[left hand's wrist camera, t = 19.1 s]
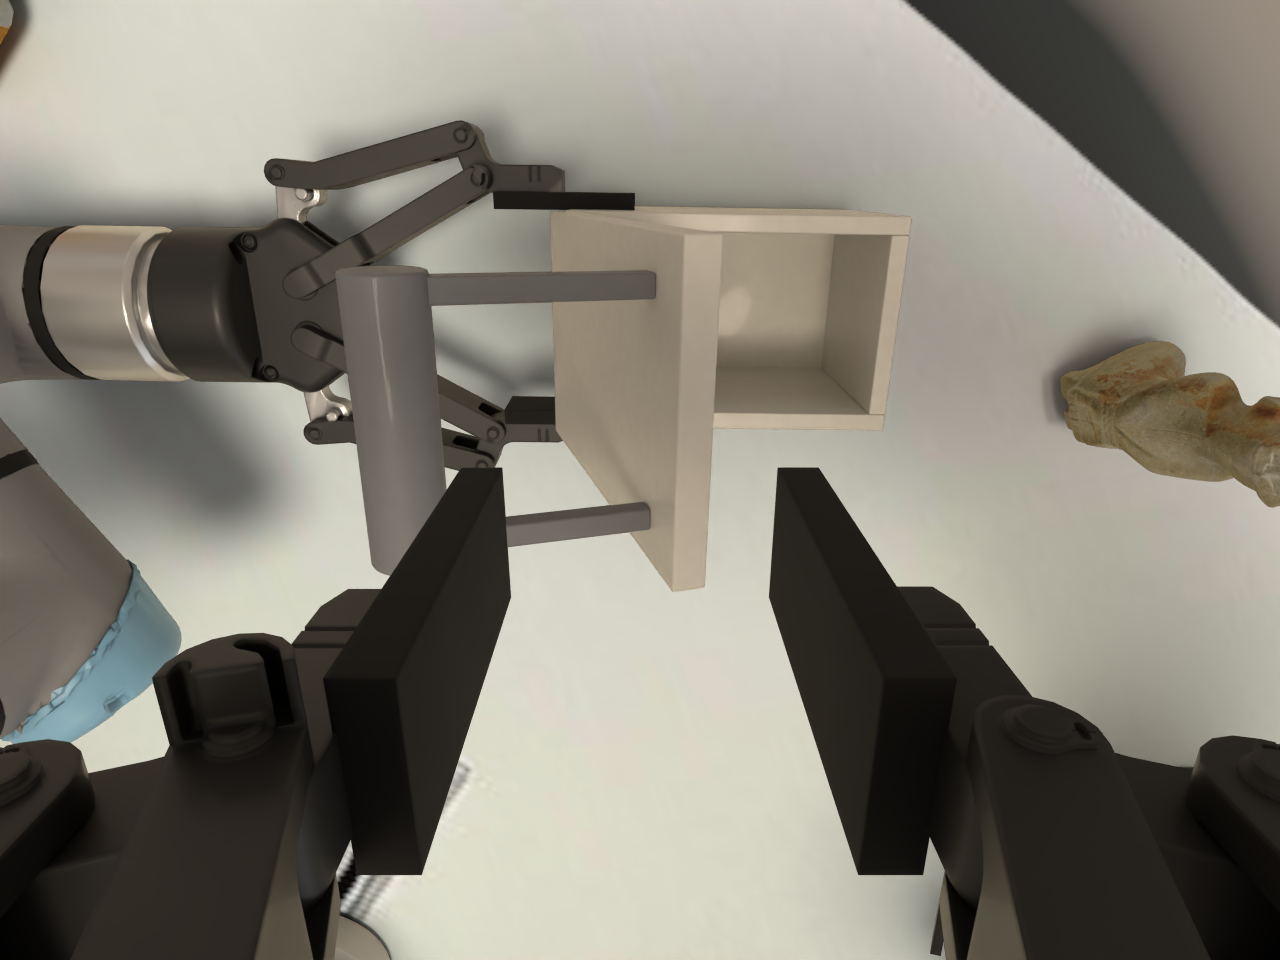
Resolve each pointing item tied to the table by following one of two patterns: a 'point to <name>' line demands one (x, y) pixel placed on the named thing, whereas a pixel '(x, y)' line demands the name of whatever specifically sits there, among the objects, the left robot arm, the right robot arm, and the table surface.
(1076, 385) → the sculpture
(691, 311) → the lid
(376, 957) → the bust sculpture
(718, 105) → the table surface
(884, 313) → the chest
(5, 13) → the spray gun
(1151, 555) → the table surface
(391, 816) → the left robot arm
